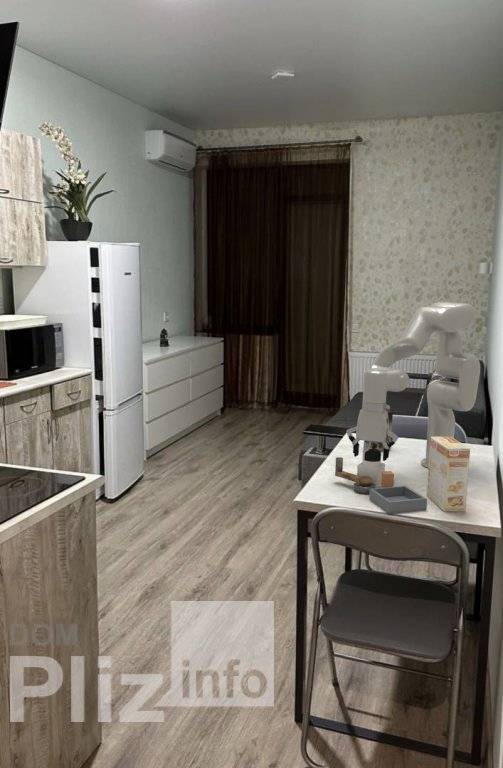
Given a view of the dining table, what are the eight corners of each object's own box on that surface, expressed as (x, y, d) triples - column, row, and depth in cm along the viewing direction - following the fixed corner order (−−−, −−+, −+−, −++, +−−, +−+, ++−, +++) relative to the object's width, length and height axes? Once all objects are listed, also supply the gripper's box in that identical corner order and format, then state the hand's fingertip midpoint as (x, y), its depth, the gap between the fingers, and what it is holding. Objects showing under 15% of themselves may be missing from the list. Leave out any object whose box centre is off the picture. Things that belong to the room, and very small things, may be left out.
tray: (404, 495, 205) (405, 485, 205) (426, 509, 194) (427, 498, 193) (369, 499, 202) (369, 488, 201) (389, 513, 190) (389, 502, 189)
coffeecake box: (466, 511, 192) (471, 448, 189) (443, 512, 192) (447, 448, 189) (447, 494, 207) (451, 435, 204) (425, 495, 207) (429, 436, 203)
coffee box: (372, 453, 255) (374, 413, 252) (363, 448, 260) (364, 409, 258) (391, 450, 258) (393, 411, 255) (382, 446, 264) (384, 408, 261)
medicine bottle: (384, 483, 217) (386, 449, 215) (376, 489, 211) (378, 453, 209) (364, 479, 221) (366, 445, 219) (356, 485, 215) (357, 450, 213)
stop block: (383, 495, 206) (385, 474, 205) (380, 492, 209) (382, 471, 207) (393, 495, 206) (394, 474, 205) (389, 491, 209) (391, 471, 208)
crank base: (369, 486, 214) (369, 480, 214) (379, 493, 207) (379, 487, 207) (349, 488, 212) (350, 482, 212) (359, 495, 205) (359, 489, 205)
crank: (373, 484, 209) (374, 465, 208) (365, 486, 206) (366, 468, 205) (339, 474, 219) (340, 456, 218) (332, 476, 217) (332, 458, 216)
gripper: (402, 408, 212) (398, 459, 214) (351, 402, 219) (348, 451, 221) (397, 412, 205) (393, 464, 207) (345, 406, 212) (342, 456, 215)
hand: (370, 457), depth 214 cm, fingers open, 9 cm apart
